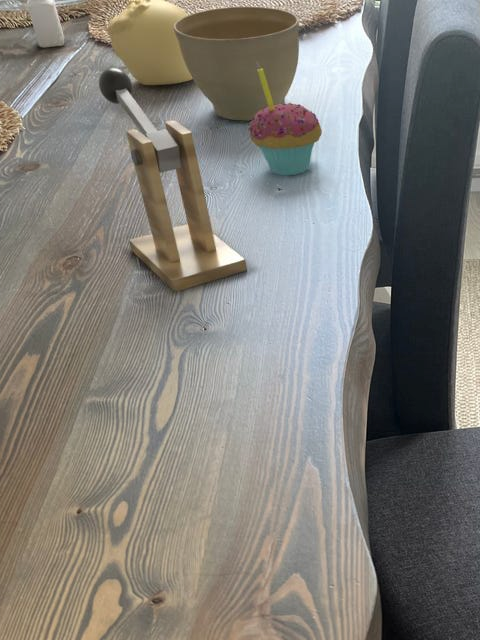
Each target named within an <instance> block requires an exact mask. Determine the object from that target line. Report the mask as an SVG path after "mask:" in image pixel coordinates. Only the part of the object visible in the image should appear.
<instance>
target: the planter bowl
mask: <svg viewBox="0 0 480 640" xmlns="http://www.w3.org/2000/svg"><path fill="white" fill-rule="evenodd" d="M299 22H300V21H299V18H298V16H297V15H296V14H295V13H292V12H290V11H287V10H285V9H281V8H274V7H266V6H264V7H263V6H229V7H219V8H212V9H206V10H202V11H196V12H193V13H191V14H188V16H185V17H183V18H181V19H180V20H178V21H177V22H176V23H175V24H174V31H175V34H176V37H177V39H178V41H179V45H180V49H181V53H182V56H183V59H184V62H185V64H186V66H187V69H188V71H189V73H190V74H191V76H192V78H193V79H192V80H193V81H194V83H195V84H196V86H197V88H198V89H199V91H201V92H200V93H202V94H203V95H204V97H205V98H206V99H207V100H208V101H209V102H210V103H211V104H212V107H213V110H214V112H215V114H216V115H217V116H218V117H220V118H223V119H226V120H233V121H246V122H247V121H248V122H251V121H252V119H253V117H255V116H254V115H255V114H257V113H258V112H259V111H260V110H262V109H265V107H268V103H267V100H266V97H265V93H264V90H263V87H262V84H261V80H260V77H259V74H258V69H259V68H258V66H257V64H256V62H258V64H259V67H260V69H263V71H264V74H265V78H266V81H267V84H268V87H269V91H270V94H271V97H272V101H273V104H276V105H278V104H286V102H285V101H286V97H287V95H288V93H289V92H290V89H291V87H292V85H293V81H294V79H295V76H296V73H297V68H298V63H299V56H300V55H299V54H300V40H299V29H300V23H299Z"/></svg>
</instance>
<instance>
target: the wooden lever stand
mask: <svg viewBox="0 0 480 640" xmlns="http://www.w3.org/2000/svg"><path fill="white" fill-rule="evenodd" d="M164 125H165V129H166V130H167V131H168V132H169V134H170V135H171V137H172V138H173V139H174V141H175V142H176V143H177V145H178V146H179V155H180V164H181V168H178V169H174V170H175V173H176V179H177V183H178V187H179V191H180V196H181V200H182V204H183V209H184V213H185V218H186V223H187V224H186V223H185V224H182V225H178V226H175V227H173V224H172V219H171V215H170V211H169V206H168V202H167V198H166V194H165V189H164V186H163V182H162V177H161V173H160V172H159V168H158V164H157V160H156V156H155V151H154V147H153V143H152V141H151V140H149V139H148V138H147V137H145V136H144V135H143V134H142V133H141V132H140V130H139V129H136V128H132V129H127V130H126V131H125V133H126V138H127V141H128V145H129V149H130V156H131V159H132V162H133V165H134V169H135V172H136V177H137V181H138V184H139V188H140V189H139V190H140V193H141V197H142V201H143V204H144V209H145V213H146V216H147V220H148V224H149V228H150V231H151V232H150V234H146V235H145V234H144V235H142V236H139V237H135V238H131V239H129V240H128V242H129V246H130V249H131V250H130V251H132V253H134V255H136V256H137V258H139V259H140V260H141V261H142V262H143V263H144V264H145V265H146V266H147V267H148V268H149V269H150V270H151V271H152V272H153V273H155V274H156V276H158V277H159V278H160V280H162V281H163V282H164V283H165V284H166V285H167V286H168V287H169V288H170V289H171V290H172V291H173V292H175V293H176V292H180V291H182V290H185V289H189V288H192V287H196V286H200V285H203V284H206V283H207V284H208V283H209V282H213V281H216V280H219V279H223V278H228V277H230V276H232V275H237V274H240V273H243V272H247V271H248V267H247V261H246V259H245V258H244V257H243V256H242V255H241V254H239V253H238V252H236V250H234V249H233V248H232V247H231V246H230V245H228V244H227V243H226V242H225V241H223V240H222V239H221V238H220V237H218V236H217V235H216V234H215V233H214V232H213V227H212V222H211V217H210V213H209V209H208V204H207V203H208V202H207V199H206V193H205V189H204V185H203V178H202V175H201V170H200V166H199V159H198V156H197V151H196V145H195V141H194V137H193V132H192V131H190V130H189V129H188V128H186V127H185V126H183V125H182V124H181V123H179V122H177V121H176V120H175V119H173V120H172V119H171V120H168V121H167V120H166V121H165V122H164Z"/></svg>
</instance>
